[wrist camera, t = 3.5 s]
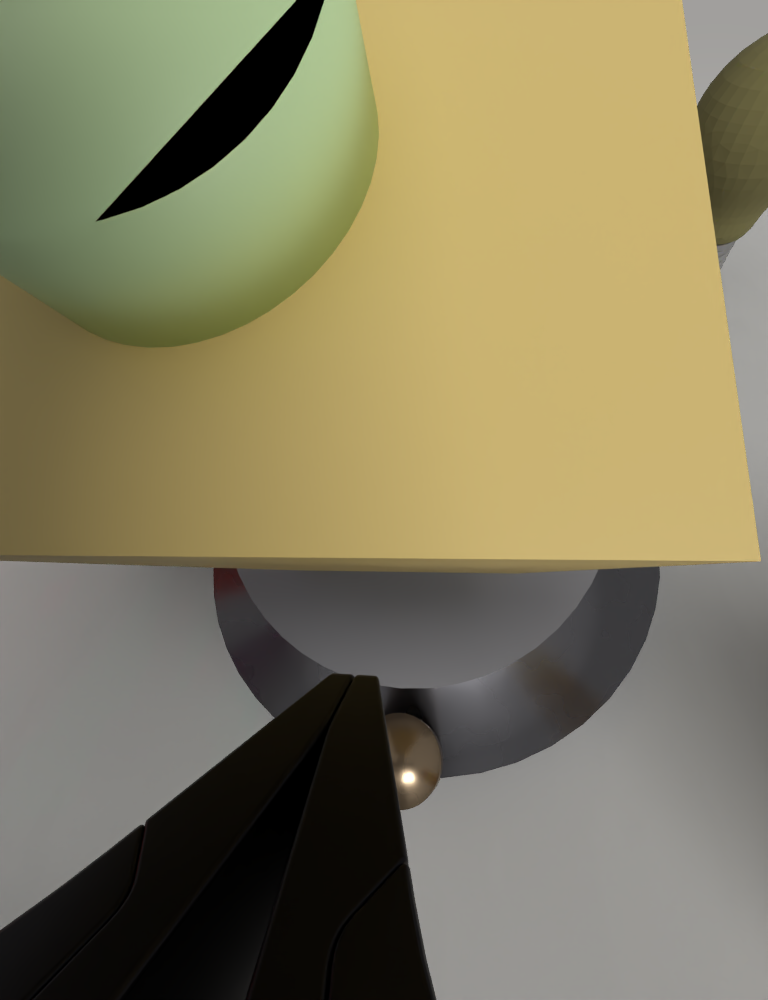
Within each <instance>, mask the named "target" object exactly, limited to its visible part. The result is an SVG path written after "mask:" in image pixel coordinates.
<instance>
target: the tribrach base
mask: <svg viewBox="0 0 768 1000" xmlns="http://www.w3.org/2000/svg"><path fill="white" fill-rule="evenodd" d="M659 579H660V571H659V566H657V567H636V568H616V569H598V571H597V573H596V576H595V578H594V580H593V582H592V584H591V586H590V587H589V589H588V590H587V592H586V593H585V595H584V596H583V598H582V600H581V601H580V603H579V604H578V606H577V607H576V609H575V610H574V611H573V612H572V613H571V614H570V615H569V617H568V618H567V619H566V620H565V621H564V622H563V624H562V625H561V626H560V627H559V628H558V629H557V630H556V631H555V632H554V633H553V634H552V635H550V636H549V637H548V638H547V639H546V640H545V641H543V642H542V643H541V644H540V645H539V646H538V647H536V648H535V649H534V650H532V651H531V652H529V653H528V654H526V655H524V656H523V657H521V658H520V659H518V660H517V661H515V662H513V663H512V664H510V665H508V666H506V667H504V668H501V669H499V670H497V671H495V672H493V673H490V674H488V675H486V676H483V677H480V678H477V679H473V680H470V681H466V682H463V683H459V684H455V685H448V686H441V687H434V688H394V687H387V686H380V689H381V695H382V701H383V707H384V713H385V720H386V726H387V732H388V738H389V744H390V751H391V757H392V763H393V769H394V775H395V782H396V788H397V794H398V800H399V806H400V810H406V809H410V808H413V807H415V806H418V805H419V804H421V803H422V802H423V801H424V800H425V799H427V798H428V796H429V795H430V794H431V793H432V792H433V790H434V789H435V788H436V786H437V784H438V782H439V780H440V778H445V777H453V776H460V775H468V774H476V773H482V772H485V771H489V770H492V769H496V768H499V767H502V766H506V765H509V764H513V763H516V762H519V761H521V760H523V759H525V758H527V757H529V756H531V755H533V754H535V753H538V752H540V751H542V750H544V749H546V748H548V747H550V746H552V745H554V744H555V743H556V742H558V741H559V740H561V739H562V738H564V737H565V736H567V735H568V734H569V733H571V732H572V731H574V730H575V729H577V728H578V727H580V726H581V725H582V724H584V723H585V722H586V721H587V720H588V719H589V718H590V717H591V716H592V715H593V714H594V713H595V712H596V711H597V710H598V709H599V708H600V707H601V706H602V705H603V704H604V703H605V702H606V701H607V700H608V699H609V698H610V697H611V696H612V694H613V693H614V692H615V690H616V689H617V687H618V686H619V685H620V683H621V682H622V681H623V679H624V678H625V677H626V675H627V674H628V673H629V671H630V670H631V668H632V666H633V664H634V662H635V660H636V658H637V656H638V654H639V652H640V650H641V648H642V646H643V644H644V642H645V640H646V637H647V634H648V631H649V627H650V624H651V621H652V618H653V615H654V611H655V608H656V600H657V593H658V586H659ZM214 598H215V604H216V610H217V616H218V622H219V625H220V628H221V632H222V635H223V638H224V641H225V644H226V647H227V650H228V652H229V654H230V656H231V658H232V660H233V662H234V664H235V666H236V668H237V670H238V672H239V674H240V676H241V677H242V678H243V680H244V681H245V683H246V684H247V686H248V687H249V689H250V690H251V691H252V693H253V694H254V696H255V697H256V699H257V700H258V701H259V702H260V703H261V704H262V705H263V706H264V707H265V708H266V709H267V710H268V711H269V712H270V713H271V714H272V715H273V717H274V718H276V717H277V716H278V715H279V714H281V713H282V712H283V711H284V710H286V709H287V708H288V707H289V706H291V705H292V704H293V703H295V702H296V701H297V700H298V699H300V698H301V697H302V696H303V695H305V694H306V693H307V692H308V691H310V690H311V689H312V688H313V687H315V686H316V685H317V684H318V683H320V682H321V681H322V680H323V679H325V678H326V677H327V676H329V675H330V674H332V673H337V672H335V671H333V670H330V669H328V668H326V667H323V666H322V665H320V664H319V663H317V662H315V661H314V660H312V659H311V658H309V657H307V656H306V655H304V654H302V653H301V652H300V651H299V650H297V649H296V648H295V647H294V646H293V645H291V644H290V643H289V642H288V641H287V640H285V639H284V638H283V637H282V636H281V635H280V634H279V633H278V632H277V631H276V630H275V629H274V628H273V626H272V625H271V624H270V623H269V622H268V621H267V620H266V619H265V618H264V616H263V615H262V613H261V612H260V610H259V609H258V608H257V606H256V605H255V603H254V602H253V600H252V599H251V597H250V595H249V594H248V592H247V590H246V588H245V586H244V584H243V582H242V580H241V578H240V576H239V573H238V571H237V568H214Z"/></svg>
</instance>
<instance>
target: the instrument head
mask: <svg viewBox="0 0 768 1000" xmlns="http://www.w3.org/2000/svg"><path fill="white" fill-rule="evenodd" d="M0 561H27V562H58V563H88V564H119V565H149V566H180V567H210V568H237V571H238V573H239V576H240V578H241V580H242V582H243V584H244V586H245V588H246V590H247V592H248V594H249V595H250V597H251V599H252V600H253V602H254V603H255V605H256V606H257V608H258V609H259V610H260V612H261V613H262V615H263V616H264V618H265V619H266V620H267V621H268V622H269V623H270V624H271V625H272V626H273V628H274V629H275V630H276V631H277V632H278V633H279V634H280V635H281V636H282V637H283V638H284V639H285V640H287V641H288V642H289V643H290V644H291V645H293V646H294V647H295V648H296V649H297V650H299V651H300V652H301V653H302V654H304V655H306V656H307V657H309V658H311V659H312V660H314V661H315V662H317V663H319V664H320V665H322V666H323V667H326V668H328V669H330V670H333V671H335V672H337V673H340V674H352V675H353V676H354V677H355V676H356V675H372V676H377V677H378V678H379V682H380V686H387V687H394V688H434V687H441V686H448V685H455V684H459V683H463V682H466V681H470V680H473V679H477V678H480V677H483V676H486V675H488V674H490V673H493V672H495V671H497V670H499V669H501V668H504V667H506V666H508V665H510V664H512V663H513V662H515V661H517V660H518V659H520V658H521V657H523V656H524V655H526V654H528V653H529V652H531V651H532V650H534V649H535V648H536V647H538V646H539V645H540V644H541V643H542V642H543V641H545V640H546V639H547V638H548V637H549V636H550V635H552V634H553V633H554V632H555V631H556V630H557V629H558V628H559V627H560V626H561V625H562V624H563V622H564V621H565V620H566V619H567V618H568V617H569V615H570V614H571V613H572V612H573V611H574V610H575V609H576V607H577V606H578V604H579V603H580V601H581V600H582V598H583V596H584V595H585V593H586V592H587V590H588V589H589V587H590V586H591V584H592V582H593V580H594V578H595V576H596V573H597V571H598V569H616V568H636V567H657V566H677V565H697V564H717V563H737V562H757V561H761V558H760V551H759V544H758V537H757V530H756V523H755V516H754V509H753V502H752V494H751V487H750V480H749V473H748V466H747V459H746V452H745V445H744V438H743V430H742V423H741V416H740V409H739V402H738V395H737V388H736V381H735V374H734V366H733V359H732V352H731V345H730V338H729V331H728V324H727V317H726V310H725V302H724V295H723V288H722V281H721V274H720V267H719V260H718V253H717V246H716V238H715V231H714V224H713V217H712V210H711V203H710V196H709V189H708V182H707V174H706V167H705V160H704V153H703V146H702V139H701V132H700V125H699V118H698V110H697V103H696V96H695V89H694V83H693V75H692V68H691V61H690V54H689V46H688V40H687V32H686V25H685V18H684V11H683V4H682V0H0Z"/></svg>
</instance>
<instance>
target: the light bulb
mask: <svg viewBox="0 0 768 1000" xmlns="http://www.w3.org/2000/svg"><path fill="white" fill-rule="evenodd" d="M697 110H698V118H699V125H700V132H701V139H702V146H703V153H704V160H705V167H706V174H707V182H708V189H709V196H710V203H711V210H712V217H713V224H714V231H715V238H716V246H717V253H718V260H719V267H720V269H721V268H722V265H723V263H724V262H725V260H726V257H727V256H728V254H729V252H730V250H731V248H732V247H733V245H734V243H735V241H736V240H737V239H739V238H741V237H742V236H743V235H744V234H745V233H746V232H747V231H749V230H750V229H751V227H752V226H753V225H754V223H755V222H756V221H757V220H758V218H759V217H760V216H761V215H762V213H763V212H764V211H765V210H766V209H767V208H768V34H766V35H764V36H763V37H761V38H760V39H758V40H757V41H755V42H754V43H752V44H751V45H749V46H748V47H747V48H745V49H744V50H742V51H741V52H740V53H739V54H738V55H737V56H736V57H735V58H734V59H733V60H732V61H730V62H729V63H728V64H727V65H726V66H725V67H724V68H723V70H722V71H721V72H720V73H719V74H718V76H717V77H716V78H715V79H714V80H713V81H712V83H711V84H710V85H709V87H708V89H707V90H706V91H705V93H704V94H703V96H702V98H701V100H700V101H699V103H698V106H697Z"/></svg>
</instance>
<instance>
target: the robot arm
mask: <svg viewBox="0 0 768 1000" xmlns="http://www.w3.org/2000/svg"><path fill="white" fill-rule="evenodd" d="M0 1000H436V996H435V992H434V988H433V984H432V980H431V976H430V972H429V968H428V964H427V960H426V955H425V950H424V945H423V939H422V934H421V929H420V924H419V919H418V914H417V908H416V903H415V897H414V891H413V885H412V879H411V872H410V868H409V866H408V856H407V850H406V844H405V837H404V831H403V825H402V819H401V813H400V806H399V800H398V794H397V788H396V782H395V775H394V769H393V763H392V757H391V751H390V744H389V738H388V732H387V726H386V720H385V713H384V707H383V701H382V695H381V689H380V682H379V678H378V677H377V676H372V675H356V676H355V677H354V676H353V675H352V674H340V673H332V674H330V675H329V676H327V677H326V678H325V679H323V680H322V681H321V682H320V683H318V684H317V685H316V686H315V687H313V688H312V689H311V690H310V691H308V692H307V693H306V694H305V695H303V696H302V697H301V698H300V699H298V700H297V701H296V702H295V703H293V704H292V705H291V706H289V707H288V708H287V709H286V710H284V711H283V712H282V713H281V714H279V715H278V716H277V717H276V718H274V719H273V720H272V721H271V722H269V723H268V724H267V725H266V726H264V727H263V728H262V729H261V730H259V731H258V732H257V733H256V734H254V735H253V736H252V737H250V738H249V739H248V740H247V741H245V742H244V743H243V744H242V745H240V746H239V747H238V748H237V749H235V750H234V751H233V752H232V753H230V754H229V755H228V756H227V757H225V758H224V759H223V760H222V761H220V762H219V763H218V764H216V765H215V766H214V767H213V768H211V769H210V770H209V771H208V772H206V773H205V774H204V775H203V776H201V777H200V778H199V779H198V780H196V781H195V782H194V783H193V784H191V785H190V786H189V787H188V788H186V789H185V790H184V791H183V792H181V793H180V794H179V795H177V796H176V797H175V798H174V799H172V800H171V801H170V802H169V803H167V804H166V805H165V806H164V807H162V808H161V809H160V810H159V811H157V812H156V813H155V814H154V815H152V816H151V817H150V818H149V819H147V821H146V823H145V826H144V825H140V826H138V827H137V828H136V829H134V830H133V831H132V832H131V833H129V834H128V835H127V836H126V837H124V838H123V839H122V840H121V841H119V842H118V843H117V844H115V845H114V846H113V847H112V848H110V849H109V850H108V851H107V852H105V853H104V854H103V855H101V856H100V857H99V858H97V859H96V860H95V861H93V862H92V863H91V864H90V865H88V866H87V867H86V868H84V869H83V870H82V871H80V872H79V873H78V874H77V875H75V876H74V877H73V878H71V879H70V880H69V881H67V882H66V883H65V884H64V885H62V886H61V887H60V888H58V889H57V890H55V891H54V892H53V893H51V894H50V895H48V896H47V897H46V898H44V899H43V900H42V901H40V902H39V903H37V904H36V905H35V906H33V907H32V908H30V909H29V910H28V911H26V912H25V913H24V914H22V915H21V916H19V917H18V918H17V919H15V920H14V921H12V922H11V923H10V924H8V925H7V926H6V927H4V928H3V929H1V930H0Z"/></svg>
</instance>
